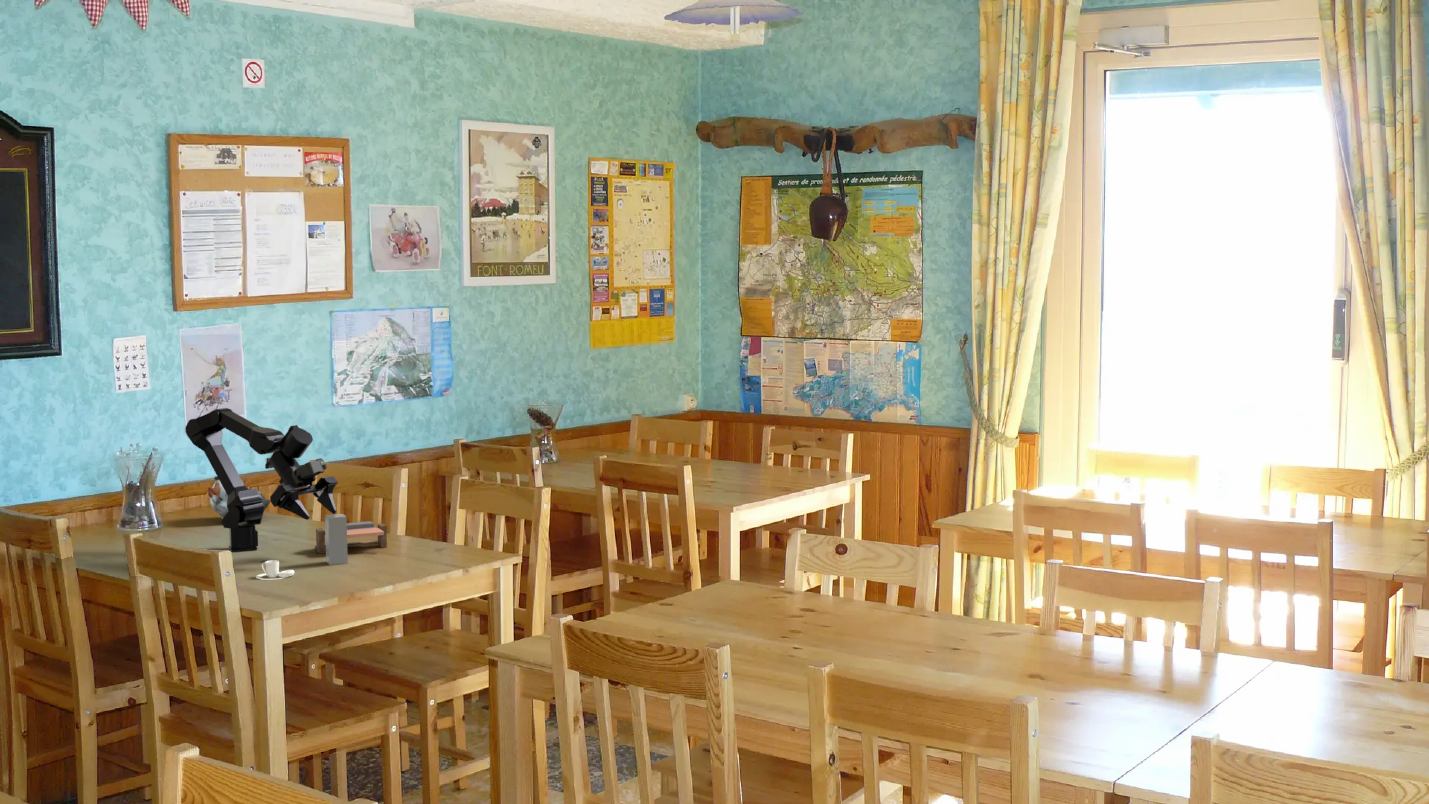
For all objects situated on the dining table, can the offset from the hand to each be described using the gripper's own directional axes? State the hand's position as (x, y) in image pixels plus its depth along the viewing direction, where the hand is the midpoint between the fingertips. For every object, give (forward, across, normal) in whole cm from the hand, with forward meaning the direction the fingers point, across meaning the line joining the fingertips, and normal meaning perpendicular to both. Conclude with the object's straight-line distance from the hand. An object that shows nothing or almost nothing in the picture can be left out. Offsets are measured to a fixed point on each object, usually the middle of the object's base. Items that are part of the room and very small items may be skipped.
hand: (321, 515), depth 341 cm
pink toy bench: (+4, +15, +12) cm, 20 cm away
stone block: (+12, 0, +5) cm, 13 cm away
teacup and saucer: (+12, -21, +5) cm, 25 cm away
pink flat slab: (+4, +14, +8) cm, 16 cm away
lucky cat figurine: (-36, +28, +52) cm, 70 cm away
